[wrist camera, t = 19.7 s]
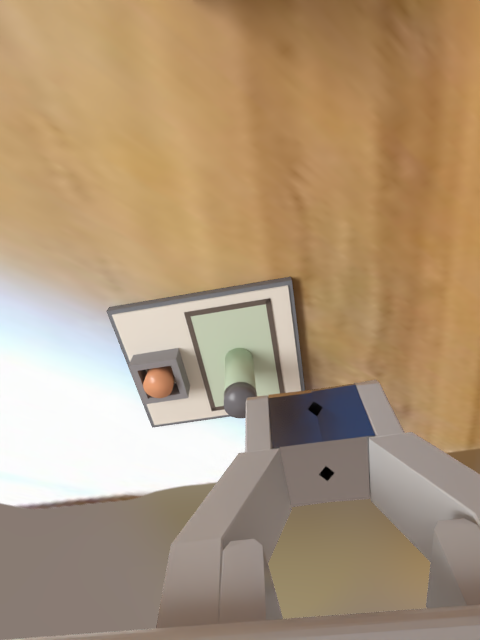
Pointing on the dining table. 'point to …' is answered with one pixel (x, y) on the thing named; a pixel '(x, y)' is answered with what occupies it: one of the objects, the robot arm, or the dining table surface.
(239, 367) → the marker
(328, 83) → the dining table surface
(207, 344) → the cream board with holder
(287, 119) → the dining table surface
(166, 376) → the button
